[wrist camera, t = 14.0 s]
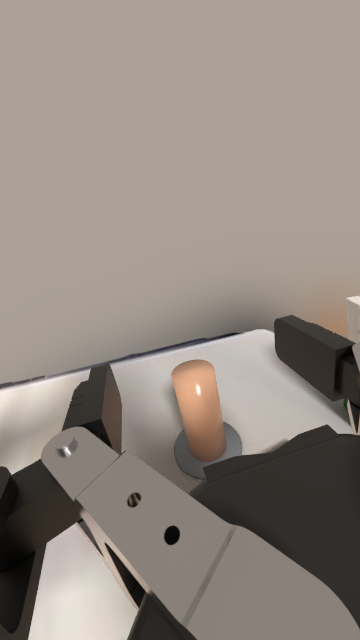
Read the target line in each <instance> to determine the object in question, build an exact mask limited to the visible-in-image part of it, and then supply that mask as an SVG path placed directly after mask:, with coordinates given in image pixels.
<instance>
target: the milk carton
mask: <svg viewBox="0 0 360 640" xmlns="http://www.w3.org/2000/svg"><path fill="white" fill-rule="evenodd" d="M346 303H347V316H348V330H349V334H348V339H349V340H351V341H353V342H355V343H359V342H360V296H356V297H349V298H346ZM347 403H348V399H347V398H344V405H345V407H346V408H347ZM347 410H348V408H347Z"/></svg>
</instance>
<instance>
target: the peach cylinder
mask: <svg viewBox="0 0 360 640" xmlns="http://www.w3.org/2000/svg"><path fill="white" fill-rule="evenodd" d="M171 376H172V381H173V385H174V389H175V393H176V397H177V401H178V405H179V409H180V413H181V417H182V422H183V426H184V430H185V434H186V438H187V442H188V446H189V450H190V453H191V455H192V456H193V457H194V458H195V459H196V460H198V461H201V462H212V461H215V460H217V459H219V458H220V457H222V456H223V454H224V453H225V451H226V448H227V442H226V436H225V430H224V425H223V419H222V413H221V407H220V401H219V395H218V389H217V383H216V377H215V371H214V367H213V365H212V364H211V363H210V362H208V361H205V360H190V361H187V362H184V363H181V364H180V365H178V366H177V367H175V368H174V370H173V371H172V374H171Z"/></svg>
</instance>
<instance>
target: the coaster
mask: <svg viewBox="0 0 360 640" xmlns="http://www.w3.org/2000/svg"><path fill="white" fill-rule="evenodd" d="M223 425H224V430H225V436H226V442H227V448H226V451H225V453H224V454H223V456H222V457H220V458H219V459H217V460H215V461H212V462H201V461H198V460H196V459H195V458H194V457H193V456H192V455H191V453H190V450H189V446H188V442H187V438H186V434H185V430H183V431H182V432H181V433H180V435H179V436H178V438H177V440H176V443H175V448H174V452H175V458H176V461H177V463H178V465H179V466H180V468H181V469H182V470H183V471H184V472H186V473H187V474H188V475H190V476H193V477H195V478H199V479H205V477H204V472H203V468H202V467H205V466H208V465H211V464H214V463H216V462H219V461H222V460H225V459H228V458H231V457H234V456H241V453H242V443H241V439H240V436H239V434H238V433H237V431H236V430H235V429H234V428H233V427H232V426H230V425H229V424H227V423H225V422H223Z"/></svg>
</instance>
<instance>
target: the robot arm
mask: <svg viewBox="0 0 360 640" xmlns="http://www.w3.org/2000/svg"><path fill="white" fill-rule="evenodd" d="M274 333H275V350H276V353H277V355H278V357H279V359H280V360H281V361H283V362H284V363H285V364H286V365H288V366H289V367H290V368H291V369H293V370H294V371H295V372H296V373H298V374H299V375H300V376H301V377H303V378H304V379H305V380H306V381H308V382H309V383H310V384H311V385H313V386H314V387H315V388H316V389H318V390H319V391H320V392H321V393H323V394H324V395H325V396H326V397H328V398H329V399H330V400H331V401H333V402H334V401H337V400H340V399H343V398H347V399H348V403H347V408H348V413H349V417H350V422H351V427H352V432H353V434H337V433H336V432H335V431H334V430H333V429H332V428H331V427H330V426H329V425H328V424H327V425H324V426H321V427H319V428H316V429H313V430H310V431H307V432H304V433H301V434H298V435H297V436H296V437H294V438H293V439H291V440H290V441H288V442H287V443H286V444H284V445H283V446H281V447H280V448H279V449H277V450H276V451H274V452H272V453H264V454H253V455H242V456H234V457H231V458H228V459H225V460H222V461H219V462H216V463H214V464H211V465H208V466H205V467H202V468H203V472H204V477H205V480H204V481H202V482H201V483H199V484H198V485H197V486H196V487H195V488H194V489H193V490H192V491H191V492H190V493H189V494H187V493H186V492H184V491H183V490H182V489H180V488H179V487H178V486H176V485H175V484H173V483H172V482H171V481H169V480H168V479H167V478H165V477H164V476H163V475H161V474H160V473H159V472H157V471H156V470H154V469H153V468H152V467H150V466H149V465H148V464H146V463H145V462H144V461H142V460H141V459H140V458H138V457H137V456H136V455H134V454H133V453H131V452H130V451H127V450H125V451H124V452H123V453H122V454H121V436H122V404H121V398H120V393H119V390H118V387H117V384H116V381H115V378H114V375H113V372H112V369H111V367H110V365H109V363H108V364H104V365H100V366H97V367H93V368H91V371H90V375H89V380H87V381H84V382H81V383H80V384H79V386H78V387H77V388H76V389H75V390H74V393H73V396H72V401H71V402H70V406H69V407H70V408H69V409H68V412H67V415H66V419H65V422H64V425H63V428H62V432H60V433H59V434H57V435H56V436H55V437H53V438H52V439H51V440H50V441H49V442H48V443H47V444H46V446H45V447H44V449H43V451H42V454H41V459H39V460H38V461H36V462H35V463H33V464H31V465H29V466H27V467H26V468H24V469H22V470H20V471H18V472H16V473H15V474H13V475H11V473H10V472H9V470H8V469H7V468H6V467H0V640H28V636H29V631H30V626H31V621H32V616H33V611H34V605H35V600H36V595H37V590H38V585H39V580H40V575H41V569H42V564H43V559H44V554H45V549H46V544H47V542H49V541H50V540H52V539H53V538H55V537H56V536H57V535H59V534H60V533H62V532H63V531H65V530H66V529H67V528H69V527H70V526H72V525H73V524H75V523H76V524H77V526H78V527H79V528H80V530H81V531H82V532H83V534H84V535H85V537H86V538H87V539H88V541H89V542H90V543H91V545H92V546H93V547H94V549H95V550H96V551H97V553H98V554H99V556H100V557H101V558H102V560H103V561H104V562H105V564H106V565H107V567H108V568H109V569H110V571H111V572H112V574H113V576H114V577H115V579H116V581H117V582H118V584H119V585H120V587H121V588H122V590H123V591H124V593H125V594H126V596H127V597H128V598H129V600H130V601H131V603H132V604H133V605H134V607H135V608H136V609H137V611H138V613H137V616H136V618H135V621H134V623H133V626H132V629H131V631H130V634H129V636H128V639H127V640H360V342H359V343H355V342H353V341H351V340H349V339H346V338H344V337H342V336H340V335H338V334H336V333H333V332H331V331H329V330H327V329H326V330H325V328H323V327H321V326H319V325H317V324H313V323H309V322H306V321H304V320H301V319H299V318H297V317H295V316H293V315H289V316H285V317H281V318H278V319H276V320H275V322H274Z"/></svg>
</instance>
